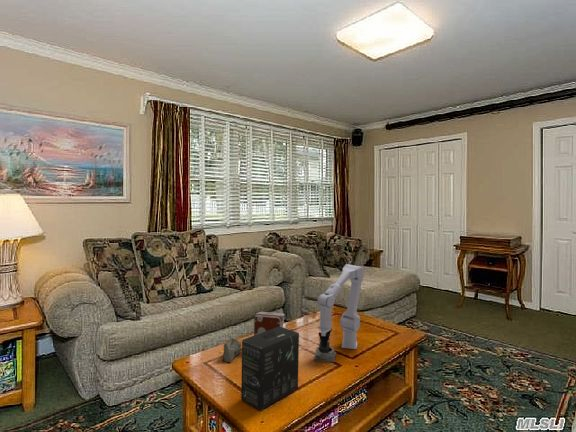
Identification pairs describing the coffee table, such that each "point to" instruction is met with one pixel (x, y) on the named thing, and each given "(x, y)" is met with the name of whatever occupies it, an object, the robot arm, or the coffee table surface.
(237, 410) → the coffee table surface
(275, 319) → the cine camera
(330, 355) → the mount
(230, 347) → the mineral rock
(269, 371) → the headset box
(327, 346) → the lens
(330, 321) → the robot arm
